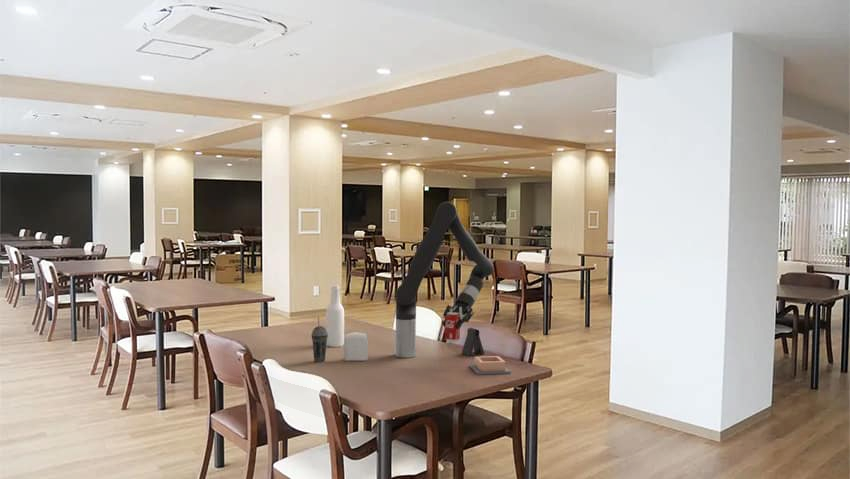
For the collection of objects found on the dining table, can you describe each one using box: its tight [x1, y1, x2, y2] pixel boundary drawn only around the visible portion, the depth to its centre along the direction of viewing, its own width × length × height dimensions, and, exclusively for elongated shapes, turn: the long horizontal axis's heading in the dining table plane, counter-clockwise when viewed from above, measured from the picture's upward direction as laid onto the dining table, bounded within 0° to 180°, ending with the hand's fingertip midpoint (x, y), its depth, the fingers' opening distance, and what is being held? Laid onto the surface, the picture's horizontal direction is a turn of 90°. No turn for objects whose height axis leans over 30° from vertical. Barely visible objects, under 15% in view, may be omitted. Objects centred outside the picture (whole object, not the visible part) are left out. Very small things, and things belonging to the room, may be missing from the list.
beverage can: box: [444, 312, 461, 343], centre depth 261 cm, size 6×6×12 cm
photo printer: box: [344, 331, 369, 362], centre depth 269 cm, size 10×4×12 cm, turn 89°
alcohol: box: [325, 284, 345, 348], centre depth 299 cm, size 9×9×30 cm
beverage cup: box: [311, 316, 328, 364], centre depth 265 cm, size 7×7×20 cm
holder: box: [469, 355, 512, 376], centre depth 254 cm, size 14×14×4 cm
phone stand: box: [461, 327, 485, 357], centre depth 283 cm, size 9×6×12 cm, turn 118°
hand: (450, 326), depth 260 cm, fingers closed on beverage can, 6 cm apart
